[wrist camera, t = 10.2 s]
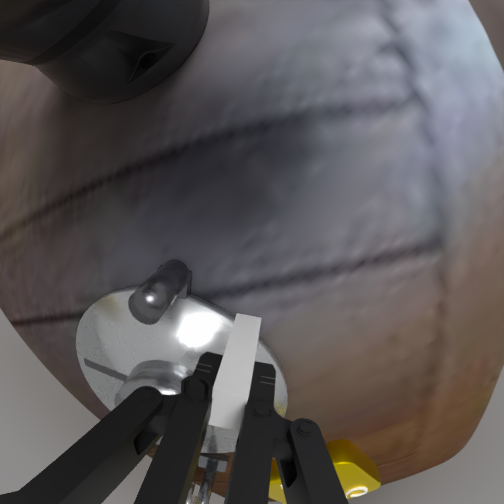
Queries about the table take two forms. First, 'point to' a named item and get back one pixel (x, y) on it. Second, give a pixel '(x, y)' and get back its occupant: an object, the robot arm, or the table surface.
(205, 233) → the table surface
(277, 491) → the element tile
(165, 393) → the cover
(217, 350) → the turntable
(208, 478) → the stand
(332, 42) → the table surface
